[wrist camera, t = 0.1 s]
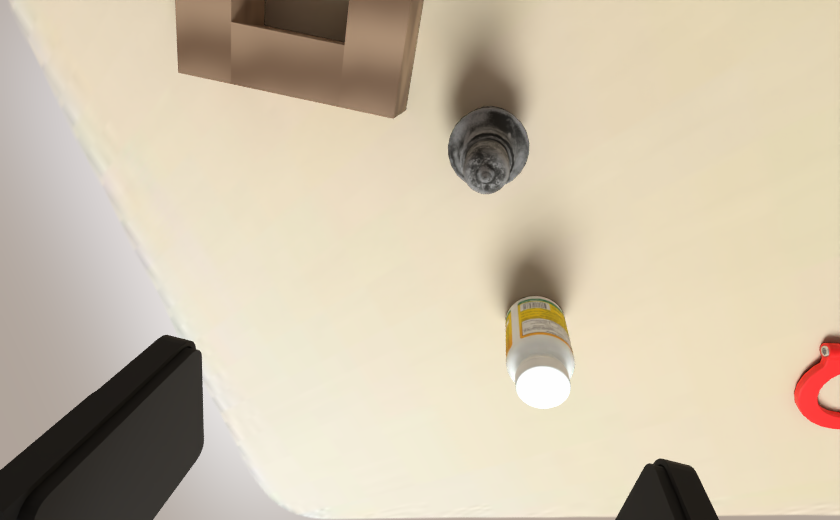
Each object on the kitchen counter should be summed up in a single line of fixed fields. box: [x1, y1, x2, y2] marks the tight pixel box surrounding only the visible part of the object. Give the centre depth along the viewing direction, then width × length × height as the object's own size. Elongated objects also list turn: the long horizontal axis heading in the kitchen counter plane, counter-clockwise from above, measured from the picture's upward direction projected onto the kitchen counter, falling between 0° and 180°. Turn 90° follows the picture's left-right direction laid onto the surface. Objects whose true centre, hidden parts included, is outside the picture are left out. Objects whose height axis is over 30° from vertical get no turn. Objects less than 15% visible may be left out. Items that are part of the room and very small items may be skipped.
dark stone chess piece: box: [448, 106, 529, 194], centre depth 32 cm, size 6×6×12 cm
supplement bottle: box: [506, 296, 575, 408], centre depth 39 cm, size 5×5×10 cm
